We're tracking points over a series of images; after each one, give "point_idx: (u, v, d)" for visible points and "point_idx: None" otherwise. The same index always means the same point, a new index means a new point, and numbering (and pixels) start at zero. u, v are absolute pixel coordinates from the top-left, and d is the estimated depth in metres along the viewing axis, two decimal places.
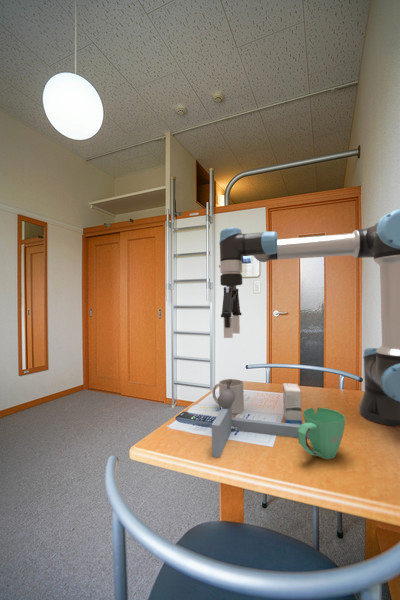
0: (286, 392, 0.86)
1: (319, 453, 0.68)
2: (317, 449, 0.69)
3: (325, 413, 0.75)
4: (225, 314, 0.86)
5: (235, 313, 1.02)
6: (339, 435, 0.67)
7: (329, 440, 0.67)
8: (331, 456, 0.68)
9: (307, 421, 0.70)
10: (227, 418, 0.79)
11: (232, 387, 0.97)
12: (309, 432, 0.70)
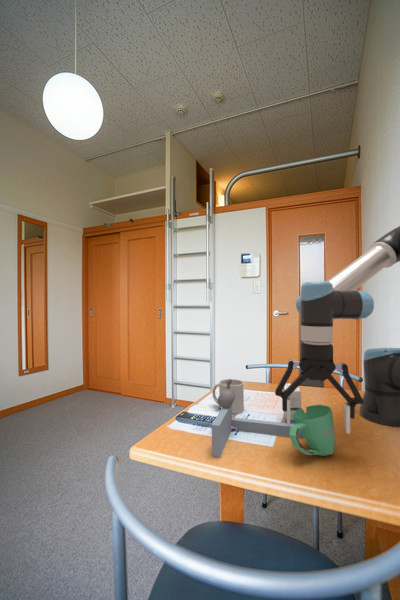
0: None
1: (317, 451, 0.68)
2: (314, 448, 0.69)
3: (314, 410, 0.76)
4: None
5: None
6: (329, 427, 0.68)
7: (322, 435, 0.68)
8: (329, 451, 0.68)
9: (297, 422, 0.71)
10: (227, 418, 0.79)
11: (232, 387, 0.97)
12: (302, 433, 0.71)
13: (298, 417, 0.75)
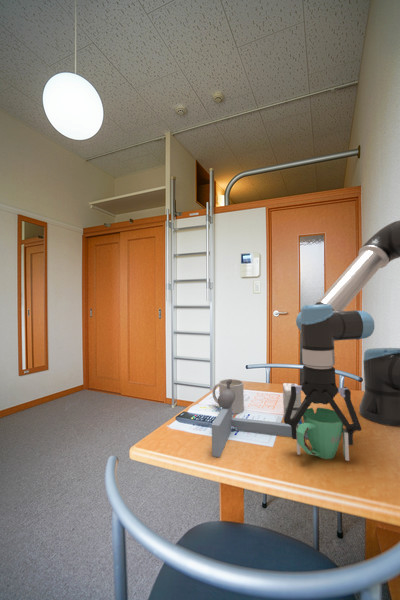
0: (286, 392, 0.86)
1: (318, 453, 0.68)
2: (316, 449, 0.69)
3: (324, 413, 0.75)
4: None
5: None
6: (338, 435, 0.67)
7: (328, 440, 0.67)
8: (330, 456, 0.68)
9: (306, 421, 0.70)
10: (227, 418, 0.79)
11: (232, 387, 0.97)
12: (308, 432, 0.70)
13: (306, 415, 0.75)
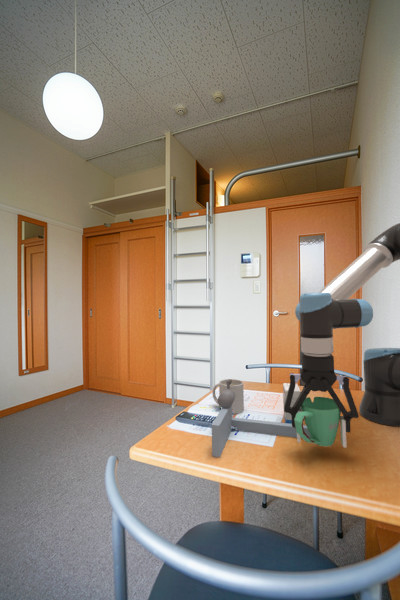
0: (286, 392, 0.86)
1: (317, 441, 0.68)
2: (315, 437, 0.69)
3: (321, 401, 0.75)
4: None
5: None
6: (336, 422, 0.67)
7: (326, 427, 0.67)
8: (329, 443, 0.69)
9: (303, 410, 0.70)
10: (227, 418, 0.79)
11: (232, 387, 0.97)
12: (306, 421, 0.71)
13: (304, 405, 0.75)
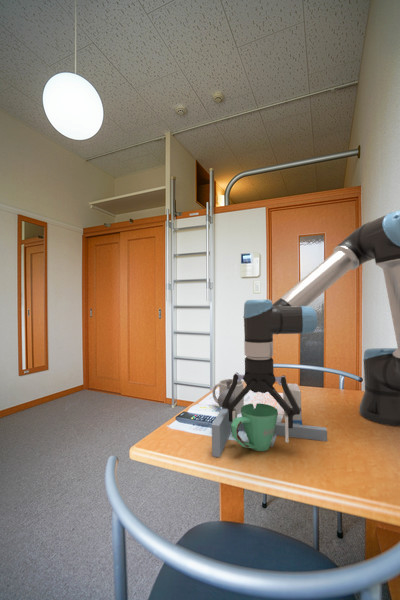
0: None
1: (252, 446, 0.72)
2: (251, 442, 0.73)
3: (263, 408, 0.79)
4: None
5: None
6: (270, 428, 0.71)
7: (261, 433, 0.71)
8: (264, 448, 0.72)
9: (242, 415, 0.74)
10: (227, 418, 0.79)
11: None
12: (244, 426, 0.74)
13: (246, 410, 0.79)
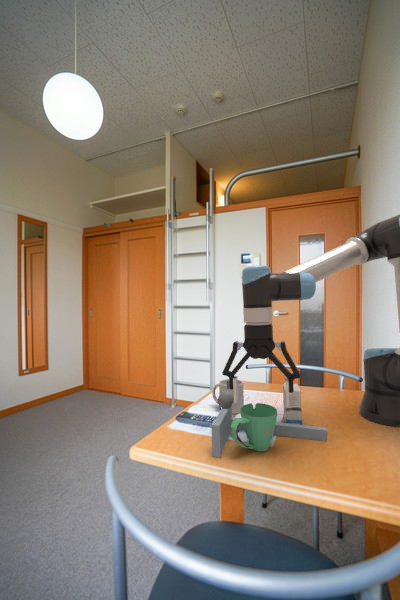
0: None
1: (252, 446, 0.72)
2: (251, 442, 0.73)
3: (262, 408, 0.79)
4: None
5: None
6: (270, 428, 0.71)
7: (261, 433, 0.71)
8: (263, 448, 0.72)
9: (242, 416, 0.74)
10: (227, 418, 0.79)
11: None
12: (244, 426, 0.74)
13: (246, 410, 0.78)
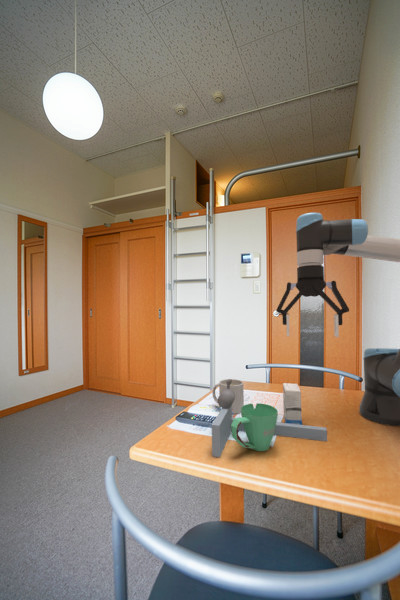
0: (286, 392, 0.86)
1: (252, 446, 0.72)
2: (251, 442, 0.73)
3: (263, 408, 0.79)
4: None
5: None
6: (270, 428, 0.71)
7: (261, 433, 0.71)
8: (263, 448, 0.72)
9: (242, 416, 0.74)
10: (227, 418, 0.79)
11: (232, 387, 0.97)
12: (244, 426, 0.74)
13: (246, 410, 0.78)
